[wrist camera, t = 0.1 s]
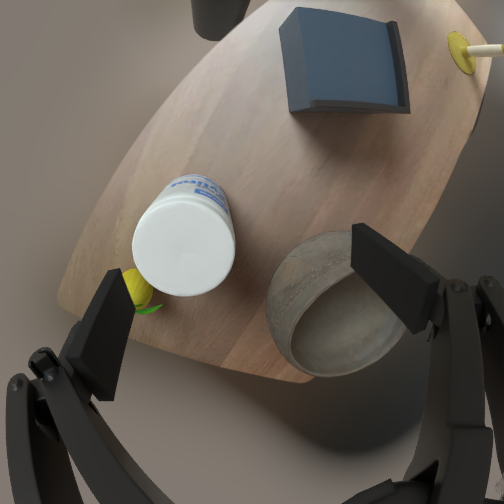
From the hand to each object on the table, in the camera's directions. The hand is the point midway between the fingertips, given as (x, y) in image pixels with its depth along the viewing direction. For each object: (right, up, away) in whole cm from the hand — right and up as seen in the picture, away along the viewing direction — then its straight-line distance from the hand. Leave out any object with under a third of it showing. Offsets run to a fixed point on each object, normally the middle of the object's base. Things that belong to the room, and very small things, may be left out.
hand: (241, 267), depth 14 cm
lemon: (-17, -3, +25) cm, 30 cm away
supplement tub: (-8, +7, +22) cm, 24 cm away
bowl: (+11, -3, +30) cm, 32 cm away
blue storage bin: (+11, +26, +16) cm, 33 cm away
